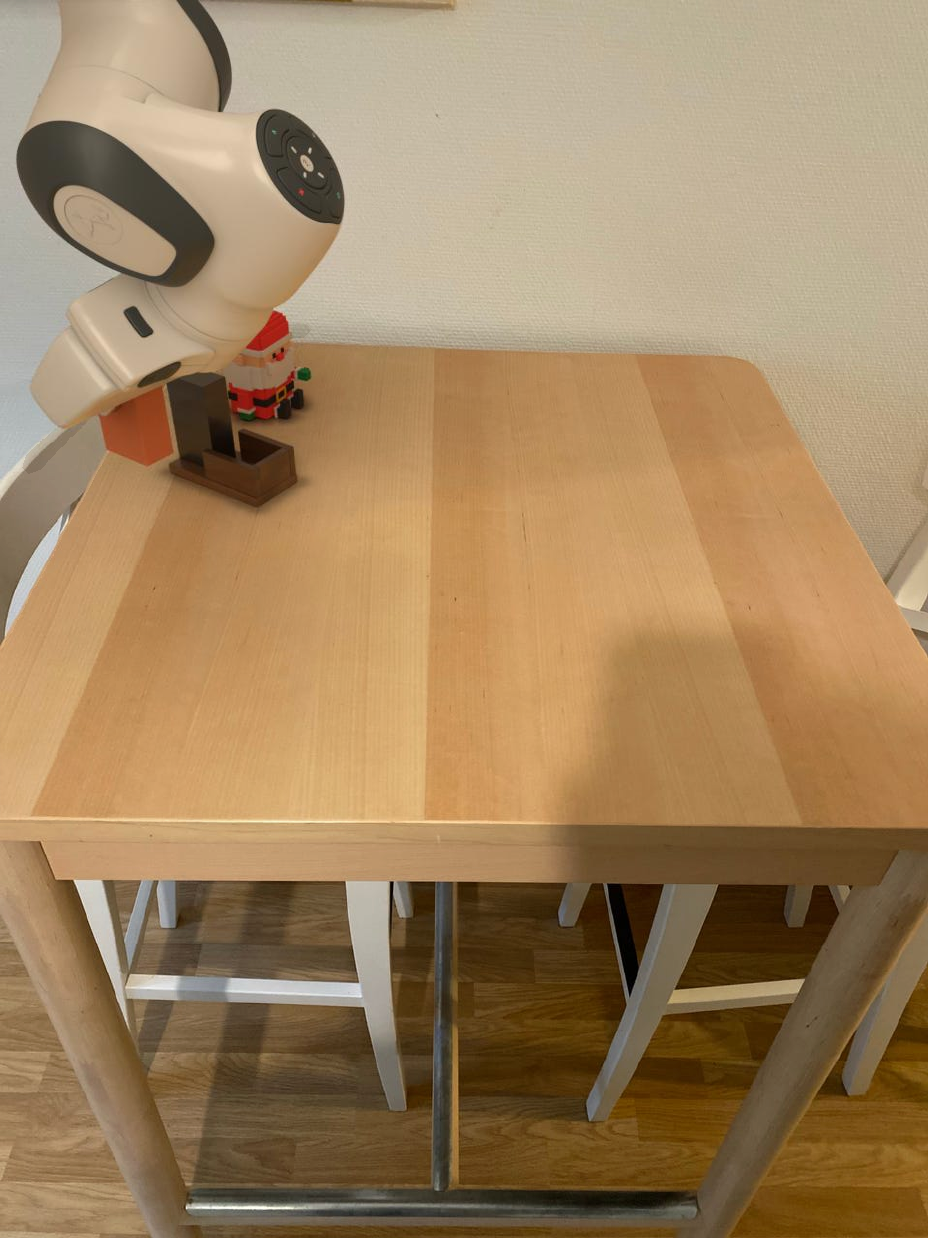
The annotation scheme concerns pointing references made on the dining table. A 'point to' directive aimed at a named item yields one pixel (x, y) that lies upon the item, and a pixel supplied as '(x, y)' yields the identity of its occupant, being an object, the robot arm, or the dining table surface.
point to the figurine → (266, 374)
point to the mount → (224, 444)
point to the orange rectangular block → (139, 429)
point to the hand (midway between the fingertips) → (123, 396)
